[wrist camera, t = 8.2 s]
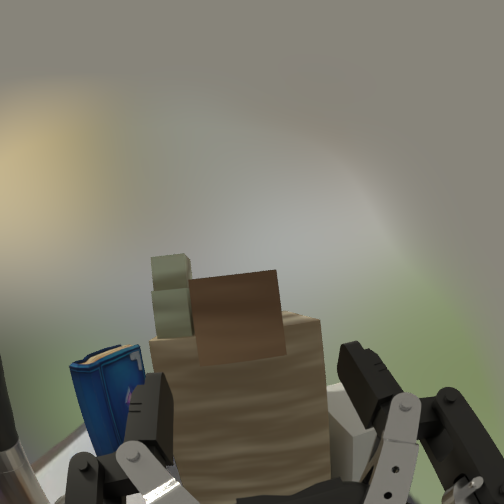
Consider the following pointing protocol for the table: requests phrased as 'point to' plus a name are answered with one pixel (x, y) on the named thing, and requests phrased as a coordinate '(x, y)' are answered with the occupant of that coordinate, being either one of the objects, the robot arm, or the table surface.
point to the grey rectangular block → (347, 436)
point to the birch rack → (240, 403)
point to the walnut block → (237, 318)
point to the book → (107, 392)
